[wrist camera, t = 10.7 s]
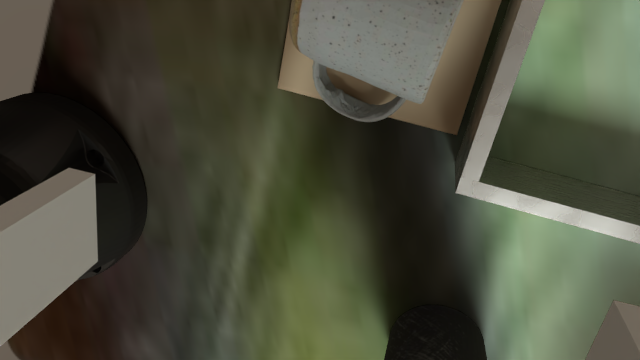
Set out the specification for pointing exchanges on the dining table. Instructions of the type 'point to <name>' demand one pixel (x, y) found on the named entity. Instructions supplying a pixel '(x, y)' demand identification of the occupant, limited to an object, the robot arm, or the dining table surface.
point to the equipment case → (521, 181)
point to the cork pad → (446, 86)
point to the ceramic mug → (373, 47)
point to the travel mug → (435, 336)
